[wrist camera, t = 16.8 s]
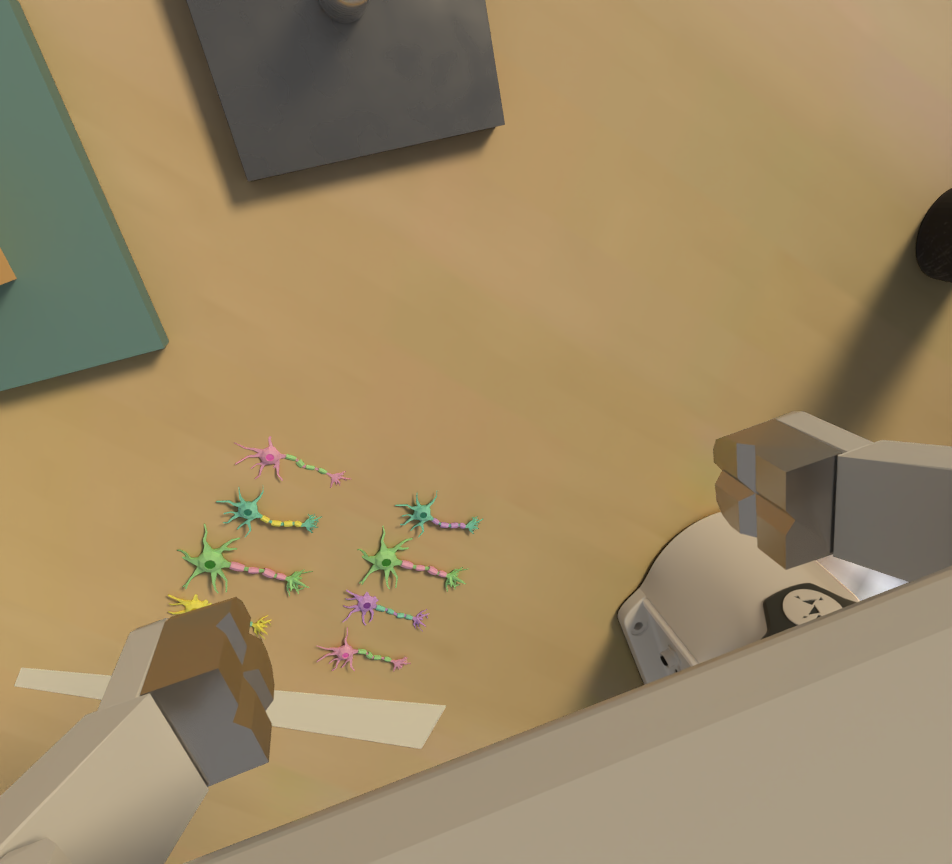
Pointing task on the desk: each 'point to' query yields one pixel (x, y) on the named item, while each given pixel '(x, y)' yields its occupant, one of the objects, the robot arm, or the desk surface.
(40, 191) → the hub plate
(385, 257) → the desk surface
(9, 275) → the collar
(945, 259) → the travel mug
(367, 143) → the stand
